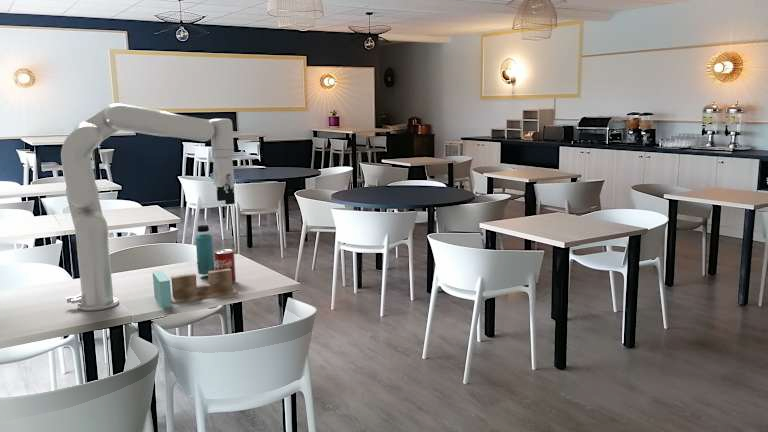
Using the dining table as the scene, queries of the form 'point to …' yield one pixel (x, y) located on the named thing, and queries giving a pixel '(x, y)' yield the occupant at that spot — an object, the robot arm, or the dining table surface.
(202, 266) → the beverage bottle
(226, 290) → the walnut slotted stand
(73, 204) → the robot arm
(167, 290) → the teal rectangular block
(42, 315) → the dining table surface
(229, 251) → the soda can
